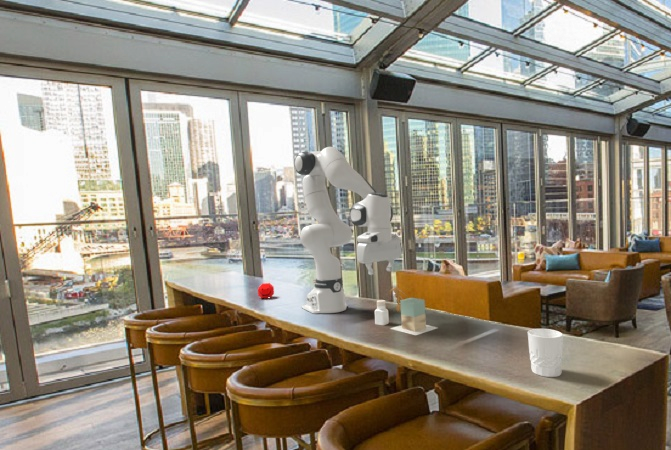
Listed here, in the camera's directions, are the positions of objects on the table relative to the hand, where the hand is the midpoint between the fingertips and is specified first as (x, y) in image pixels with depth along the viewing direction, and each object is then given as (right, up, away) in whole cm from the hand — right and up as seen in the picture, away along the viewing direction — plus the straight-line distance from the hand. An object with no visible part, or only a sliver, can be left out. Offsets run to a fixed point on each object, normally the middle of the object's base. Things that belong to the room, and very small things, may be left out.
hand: (380, 272), depth 151 cm
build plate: (+11, -20, -8) cm, 24 cm away
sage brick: (+11, -14, -8) cm, 19 cm away
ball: (-54, -22, +66) cm, 88 cm away
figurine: (+10, -19, +18) cm, 28 cm away
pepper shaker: (+1, -20, 0) cm, 20 cm away
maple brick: (+11, -19, -8) cm, 23 cm away
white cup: (+36, -20, -49) cm, 64 cm away
